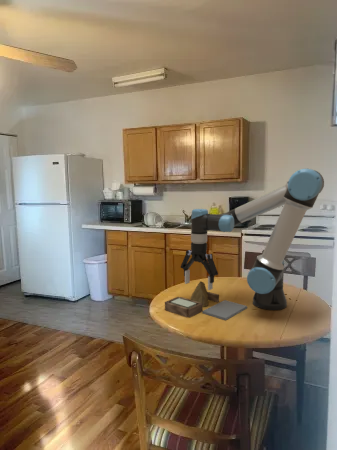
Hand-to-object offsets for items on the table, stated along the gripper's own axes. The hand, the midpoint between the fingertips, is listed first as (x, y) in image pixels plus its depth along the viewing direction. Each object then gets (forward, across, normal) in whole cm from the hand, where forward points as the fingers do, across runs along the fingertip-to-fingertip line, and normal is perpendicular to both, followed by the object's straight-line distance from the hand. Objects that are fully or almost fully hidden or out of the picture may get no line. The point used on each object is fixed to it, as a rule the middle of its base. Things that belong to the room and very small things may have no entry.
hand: (198, 286), depth 160 cm
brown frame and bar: (+8, -1, +5) cm, 9 cm away
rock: (+9, -1, 0) cm, 9 cm away
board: (+8, -15, 0) cm, 17 cm away
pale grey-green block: (+9, -1, +12) cm, 14 cm away
